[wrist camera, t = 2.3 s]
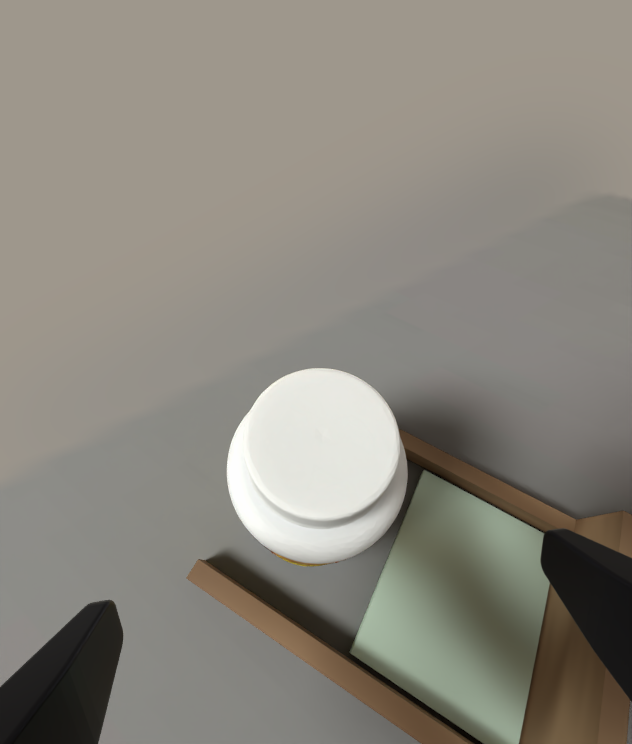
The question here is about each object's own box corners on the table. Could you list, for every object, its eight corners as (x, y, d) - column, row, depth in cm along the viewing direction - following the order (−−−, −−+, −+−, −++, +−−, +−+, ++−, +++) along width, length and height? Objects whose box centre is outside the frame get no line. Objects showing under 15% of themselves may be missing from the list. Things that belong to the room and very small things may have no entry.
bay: (528, 811, 13) (613, 900, 9) (193, 577, 16) (163, 579, 13) (576, 531, 18) (644, 521, 14) (310, 392, 21) (313, 356, 17)
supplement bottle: (230, 523, 17) (156, 469, 8) (294, 430, 20) (290, 310, 11) (330, 595, 16) (371, 622, 7) (385, 485, 18) (467, 402, 9)
